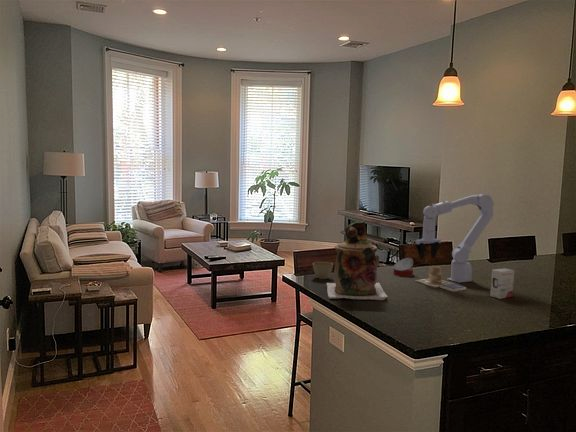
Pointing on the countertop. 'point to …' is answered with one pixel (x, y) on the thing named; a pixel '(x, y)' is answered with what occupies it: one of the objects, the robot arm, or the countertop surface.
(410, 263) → the canned food
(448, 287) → the ink pad
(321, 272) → the flower pot
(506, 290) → the ink box
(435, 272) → the stamp
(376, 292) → the cookie jar
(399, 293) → the countertop surface
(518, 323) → the countertop surface
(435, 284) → the marked board
